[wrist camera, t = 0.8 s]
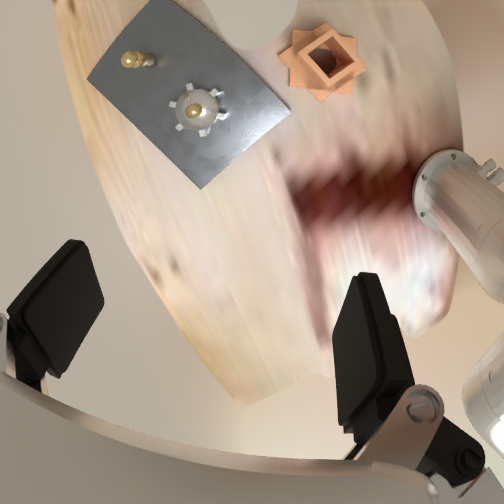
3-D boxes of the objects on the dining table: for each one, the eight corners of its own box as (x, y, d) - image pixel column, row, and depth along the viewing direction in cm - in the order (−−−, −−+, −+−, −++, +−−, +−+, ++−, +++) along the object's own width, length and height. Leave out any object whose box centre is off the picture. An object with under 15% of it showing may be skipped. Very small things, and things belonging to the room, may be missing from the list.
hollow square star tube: (325, 8, 23) (334, -7, 17) (380, 73, 27) (402, 73, 21) (259, 55, 28) (253, 49, 22) (317, 118, 31) (324, 127, 25)
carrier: (163, -6, 23) (138, -19, 17) (290, 111, 31) (292, 118, 25) (92, 78, 30) (60, 83, 24) (203, 185, 38) (188, 208, 32)
